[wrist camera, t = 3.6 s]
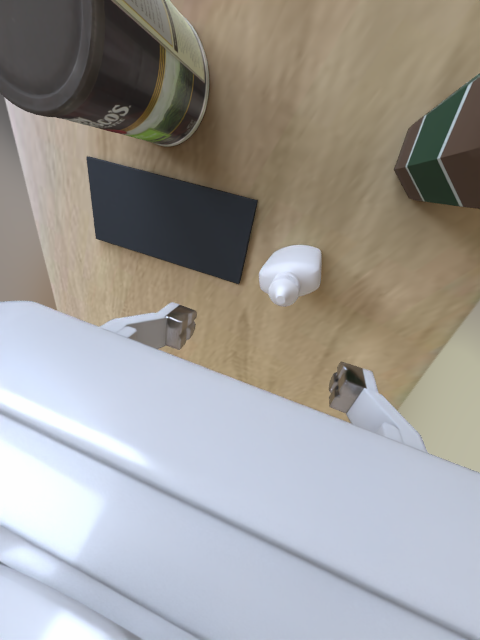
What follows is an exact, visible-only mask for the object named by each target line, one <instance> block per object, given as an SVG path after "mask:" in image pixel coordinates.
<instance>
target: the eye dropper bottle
mask: <svg viewBox="0 0 480 640" xmlns="http://www.w3.org/2000/svg"><path fill="white" fill-rule="evenodd" d="M321 265H322V253H321V250H319V249H318V248H316V247H312V246H307V245H292V246H288V247H284V248H282V249H279V250H277V251H276V252H274V253H273V254H272V255H271V257H270V258H269V259H268V260H267V262H266V263H265V264H264V266H263V267H262V269H261V270H260V272H259V282H260V287H261V290H262V291H264V292H265V293H268V294H269V297H270V298H271V300H272V302H273V303H275V304H277V305H279V306H284V307H285V306H289V305H292V304H293V303H295V302H296V300H297V298H298V297H299V296H303V295H306V294H309V293H311V292H313V291H315V290H317V289H318V288H319V286H320V282H321Z"/></svg>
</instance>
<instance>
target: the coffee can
mask: <svg viewBox="0 0 480 640" xmlns="http://www.w3.org/2000/svg"><path fill="white" fill-rule="evenodd" d="M0 93H1V94H2V95H3V96H4V97H5V98H6V99H8V100H9V101H10V102H11V103H13V104H14V105H16V106H17V107H19V108H21V109H23V110H25V111H27V112H30V113H33V114H36V115H41V116H46V117H57V118H62V119H66V120H69V121H72V122H77V123H80V124H84V125H89V126H92V127H96V128H100V129H103V130H107V131H111V132H115V133H119V134H123V135H127V136H131V137H134V138H138V139H142V140H146V141H149V142H152V143H155V144H157V145H161V146H174V145H178V144H180V143H182V142H184V141H185V140H187V139H188V138H189V137H190V136H191V135H192V134H193V133H194V132H195V131H196V129H197V128H198V126H199V124H200V122H201V120H202V118H203V115H204V113H205V109H206V106H207V101H208V94H209V72H208V64H207V59H206V55H205V52H204V49H203V46H202V43H201V41H200V39H199V37H198V35H197V33H196V31H195V29H194V28H193V27H192V25H191V24H190V23H189V22H188V20H187V19H186V18H185V17H184V16H182V15H181V14H180V12H179V11H178V10H177V9H176V8H175V6H174V5H173V4H172V3H171V1H170V0H0Z"/></svg>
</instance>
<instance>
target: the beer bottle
mask: <svg viewBox="0 0 480 640" xmlns="http://www.w3.org/2000/svg"><path fill="white" fill-rule="evenodd" d="M394 171H395V173H396V175H397V176H398V178H399V180H400V182H401V184H402V186H403V188H404V190H405V192H406V194H407V195H408V197H409V198H410V199H413V200H418V201H425V202H432V203H439V204H447V205H454V206H461V207H469V208H478V209H480V74H478V75H477V76H475V77H474V78H473V79H471V80H470V81H469V82H467V83H466V84H465V85H463V86H462V87H460V88H459V89H458V90H457V91H455V92H454V93H453V94H451V95H450V96H449V97H448V98H446V99H445V100H444V101H442V102H441V103H440V104H439V105H437V106H436V107H435V108H433V109H432V110H431V111H430V112H428V113H427V114H426V115H424V116H423V117H422V118H421V119H419V120H418V121H417V122H415V123H414V124H413V125H412V126H411V127H410V128H409V129H408V132H407V134H406V137H405V140H404V143H403V146H402V149H401V151H400V154H399V157H398V160H397V163H396V165H395V168H394Z"/></svg>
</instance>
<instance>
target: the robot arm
mask: <svg viewBox="0 0 480 640" xmlns="http://www.w3.org/2000/svg"><path fill="white" fill-rule="evenodd" d="M196 317H197V312H196V311H195V310H193V309H190V308H187V307H184V306H182V305H179V304H176V303H173V302H171V303H170V304H168V305H167V306H166V307H164V308H163V309H161V310H160V311H159V312H157V313H149V314H142V315H136V316H130V317H123V318H117V319H112V320H110V321H108V322H107V323H105V324H104V325H102V326H100V327H98V326H96V325H93V324H90V323H88V322H85V321H83V320H80V319H77V318H75V317H72V316H69V315H67V314H64V313H62V312H59V311H56V310H54V309H51V308H48V307H46V306H44V305H41V304H39V303H36V302H32V301H6V302H0V640H480V473H479V472H476V471H474V470H471V469H468V468H466V467H463V466H460V465H458V464H455V463H452V462H450V461H447V460H445V459H442V458H439V457H437V456H434V455H432V454H429V453H428V452H427V450H426V448H425V445H424V442H423V440H422V437H421V435H420V434H419V433H418V432H417V431H416V430H415V429H414V428H413V427H412V426H411V425H410V423H409V422H408V421H407V420H406V419H405V418H404V417H403V416H402V415H401V414H400V413H399V412H398V411H397V410H396V409H395V408H394V407H393V406H392V405H391V404H390V403H389V402H388V401H387V400H386V399H385V397H384V396H383V395H382V394H379V393H378V389H377V386H376V382H375V379H374V375H373V372H372V371H370V370H367V369H363V368H360V367H357V366H354V365H351V364H347V363H344V362H340V363H339V365H338V367H337V372H336V373H334V374H333V376H332V378H331V380H330V383H329V391H330V393H331V395H330V396H329V406H330V407H331V408H334V409H336V410H339V411H341V412H344V413H346V415H347V417H348V418H349V420H350V422H351V423H352V424H351V423H348V422H346V421H343V420H341V419H338V418H335V417H333V416H330V415H328V414H325V413H322V412H320V411H317V410H315V409H312V408H309V407H307V406H304V405H302V404H299V403H296V402H294V401H291V400H288V399H286V398H283V397H281V396H278V395H275V394H273V393H270V392H268V391H265V390H262V389H260V388H257V387H255V386H252V385H249V384H247V383H244V382H242V381H239V380H236V379H234V378H231V377H229V376H226V375H223V374H221V373H218V372H215V371H213V370H210V369H208V368H205V367H202V366H200V365H197V364H195V363H192V362H189V361H187V360H184V359H182V358H179V357H176V356H174V355H171V354H169V353H166V352H163V351H161V350H158V349H159V348H161V347H164V346H165V345H167V346H169V347H172V348H175V349H178V350H180V349H181V348H182V347H183V346H184V344H185V343H186V340H188V339H190V338H191V337H192V335H193V333H194V330H195V325H196V324H195V322H194V320H195V319H196Z"/></svg>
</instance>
